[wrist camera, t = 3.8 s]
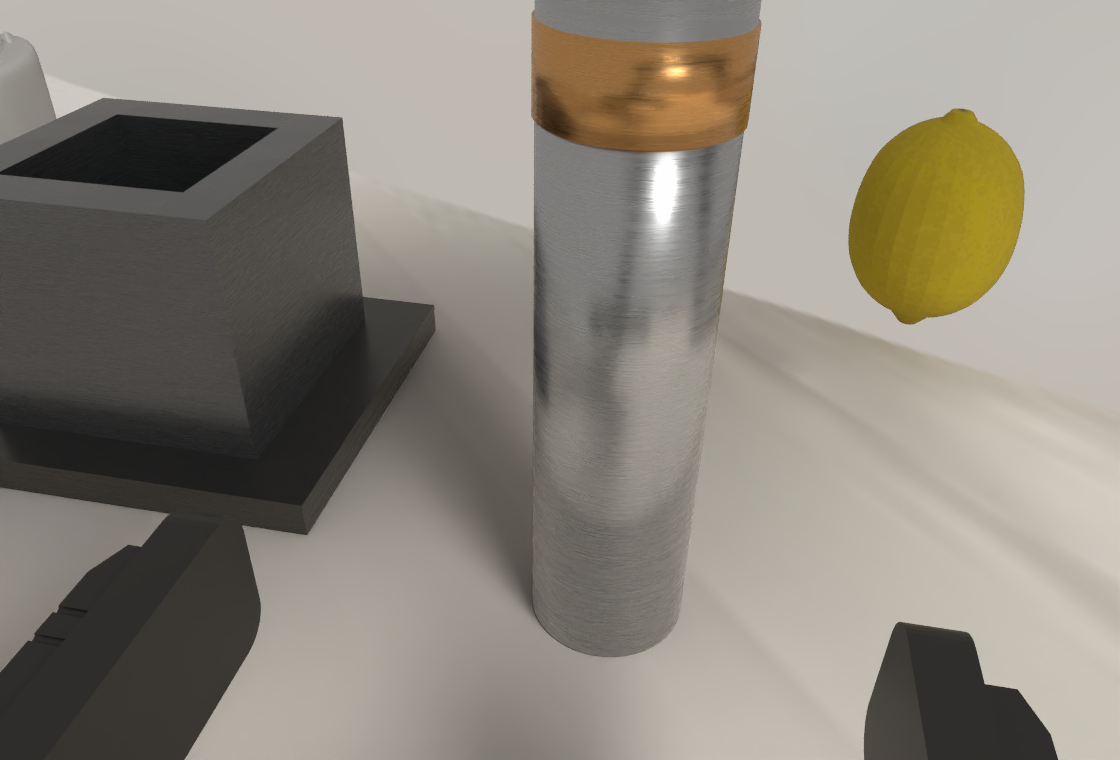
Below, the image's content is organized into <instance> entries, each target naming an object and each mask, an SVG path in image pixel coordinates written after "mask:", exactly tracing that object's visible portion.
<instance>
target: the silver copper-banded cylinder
mask: <svg viewBox="0 0 1120 760" xmlns="http://www.w3.org/2000/svg"><path fill="white" fill-rule="evenodd" d="M760 7H761V0H535V10H534V11H533V12H532V107H531V108H532V109H531V112H532V113H531V115H532V118H533V120H534V350H533V607H534V610H535V613H536V616H537V618H538V620H539V622H540V623H541V625H542V626H543V627H544V629H545V630H546V631H547V632H548V633H549V634H550V635H551V636H552V637H554V638H555V639H556V640H557V641H559V642H560V643H562V644H564V645H565V646H567V647H569V648H572V649H574V650H576V651H579V652H582V653H585V654H590V655H594V656H603V657H619V656H627V655H632V654H636V653H639V652H642V651H645V650H647V649H649V648H651V647H653V646H655V645H656V644H658V643H659V642H661V641H662V640H663V639H664V638H665V637H666V636H667V635H668V634H669V633H670V632H671V631H672V629H673V627H674V626H675V624H676V622H677V619H678V617H679V612H680V606H681V599H682V591H683V584H684V576H685V569H686V561H687V554H688V546H689V539H690V531H691V524H692V516H693V509H694V501H695V494H696V486H697V479H698V471H699V464H700V456H701V449H702V441H703V434H704V426H705V419H706V411H707V404H708V396H709V389H710V381H711V374H712V366H713V359H714V351H715V344H716V336H717V329H718V321H719V314H720V307H721V299H722V292H723V283H724V277H725V269H726V261H727V254H728V247H729V239H730V232H731V224H732V216H733V209H734V202H735V194H736V186H737V179H738V171H739V164H740V157H741V149H742V141H743V134H744V131H745V129H746V128H747V125H748V119H749V112H750V104H751V97H752V90H753V82H754V75H755V67H756V60H757V53H758V46H759V38H760V31H761V21H760V19H759V14H760Z"/></svg>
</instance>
